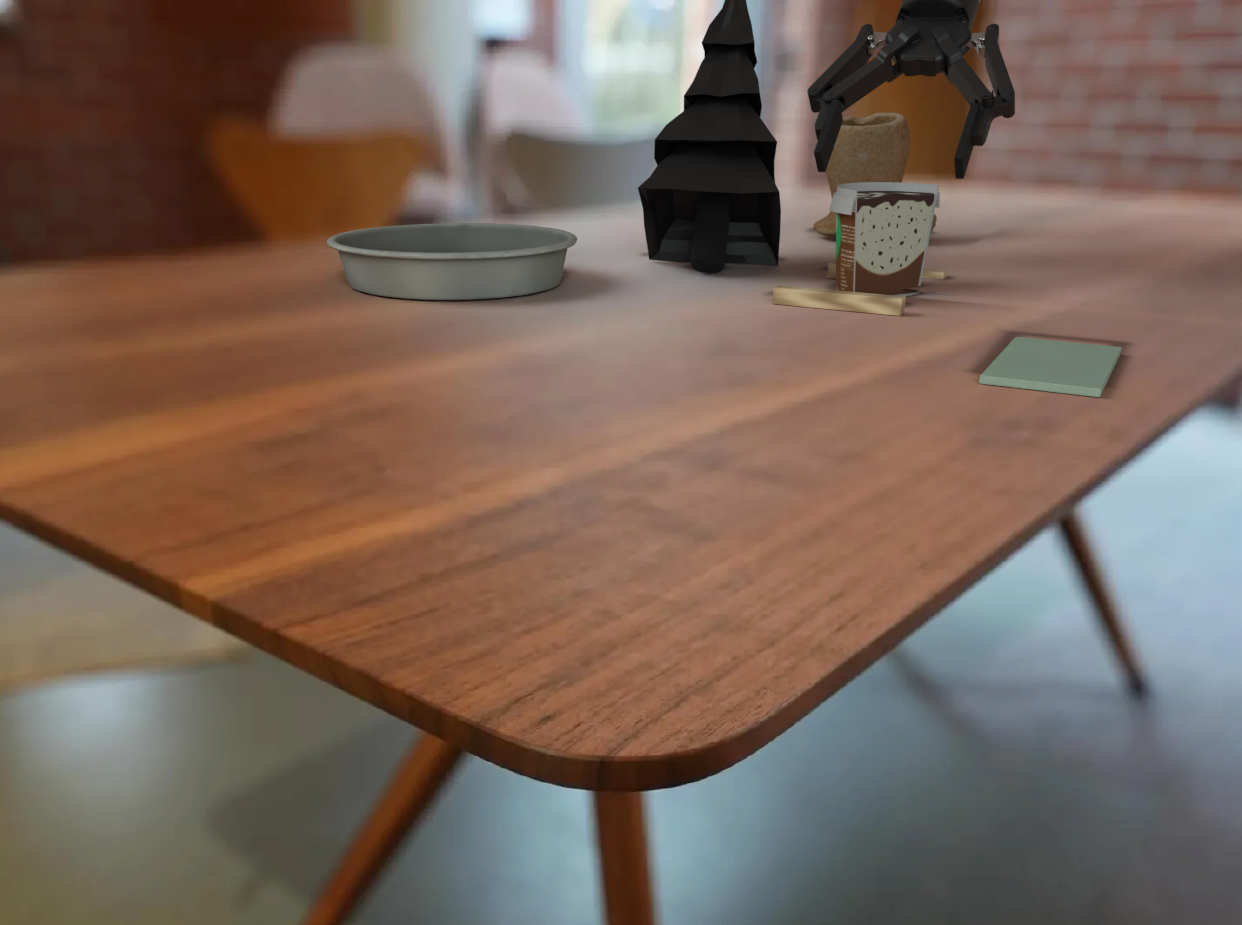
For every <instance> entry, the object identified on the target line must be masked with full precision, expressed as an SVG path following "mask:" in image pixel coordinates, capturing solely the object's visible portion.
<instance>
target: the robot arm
mask: <svg viewBox="0 0 1242 925" xmlns="http://www.w3.org/2000/svg"><path fill="white" fill-rule="evenodd" d="M980 3H981V0H901V4H900V7H899V9H898V12H897V15H896V19H895V23H894V25H893V26H892V27H891V28H890V29H889V30H888V31H887V32H884V31H874V26H873V25H872V24H871V23H865V24H863V25H861V27H860V29H859V32H858V33H857V36H856V38H855V39H854V41H853V42H852V43H851V44H850V45H849V46H848V47H847V48H846V49H845V50H844V51H843V52H842V53H841V54H840V55H839V56H838V57H837V58H836V59H835V60H834V61H833V62H832V63H831V64H830V66H829V67H828V68H826V69H825V71H824V72H823V73H822V74H821V75H819V77H818V78H816V80H815V81H814V82H813V83H812V84H811V85H810V86H809V87H808V88H807V91H806V92H807V97H808V101H809V106H810V111H811V112H812V113H815V114H816V113H817V117H816V119H815V123H814V131H815V135H816V140H817V142H816V145H815V148H814V151H813V156H814V161H815V164H816V165H815V166H816V169H817V172H818V173H826V169H827V166H828V163H829V160H830V157H831V154H832V151H833V148H834V145H835V142H836V140H837V137H838V134H839V131H840V128H841V125H842V122H843V118H844V117H843V112H845V111H846V110H847V109H849V108H850V107H852V106H854V105H855V104H856V103H857V102H859V101H860V100H861V99H863V98H864V97H867V95H869V94H870V93H871V92H873V91H875V90H876V89H877V88H879V87H880V86H882V85H884V84H885V83H886V82H887V83H893V81H895V80H896V79H897V78H899V77H900V76H902V75H903V74H904V77H916V76H925V77H930V78H932V77H934V78H936V77H937V75H939V74H941V73H942V74H943V76H944V77H945V78H946V79H947V81H948V82H949V84H953V85H954V87H955V88H956V89H957V90H958V92H959V93H960V94H961V96H962V97H963V99H964V100H965V101H966V102H967V103H968V105H969V108H968V112H967V115H966V119H965V121H964V126H963V128H962V131H961V134H960V138H959V141H958V144H957V148H956V152H955V154H954V157H953V162H954V176H955V179H958V180H964V179H965V176H966V172H967V169H968V167H969V166H968V165H969V163H970V158H971V156H972V152H973V150H974V147H983V146H984V145H985V144H986V142H987V139H988V135H989V133H990V130H991V126H992V122H994V120H995V119H996V118H999V117H1003V118H1005V119H1010V118H1013V117H1014V116H1015V114H1016V91H1015V88H1014V85H1013V82H1012V80H1011V77H1010V74H1009V70H1008V69H1007V65H1006V63H1005V59H1004V57H1003V54H1002V52H1001V49H1000V25H999V24H997V23H990V24H989V25H988V26H986V28H985V31H979V32H972V30H973V26H974V24H975V20H976V17H977V14H978V11H979V6H980ZM971 49H974V50H975V51H976V54H977V55H978V56H979V57H980V59H982V60H984V65H985V70H986V72H987V75H988V78H989V81H990V84H991V87H992V89H991V91H990V90H989V88H988V87H987V86H986V85H985V83H984V82H983V81H982V80H981V78H980V77H979V76H978V74H977V73H976V72H975V71H974V69H973V68H972V67H971V65H970V64H969V63H968V61H967V60H966V59H965V58H964V56H965V55H966V54H968V53H969V52H970V50H971ZM871 58H872V59H871ZM870 59H871V60H870Z"/></svg>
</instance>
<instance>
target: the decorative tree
mask: <svg viewBox="0 0 1242 925" xmlns="http://www.w3.org/2000/svg"><path fill="white" fill-rule="evenodd" d="M754 36H755V35H754V30H753V25H752V20H751V17H750V13H749V8H748V4H747V0H724V1H723V4H722V7H721V9H720V10H719V11H718V13H717V15H716V16H715V17H714V18H713V20H711V22H710V24H708V27H707V30H706V31H705V34H704V37H703V38H702V41H701V45H702V48H703V51H704V58H703V60H701V63H700V65H699V67H698V69H697V72H696V74H695V76H694V78H693V80H692V82H691V83H690V86H689V87H688V88H687V90H686V92H685V93H684V95H683V111H682V112H681V113H679V114H678V115H677V116H675V117H674V118H673V119H672V120H670V121H669V122H668V123H666V124H665V126H664V127H663V128H662V130H661V131H660V132H659V133H658V135H657V136H656V137H655V139H654V147H653V148H654V151H653V152H654V153H653V155H654V156H653V158H654V161H655V163H656V167H655V168H654V170H653V171H652V173H651V174H650V175H649V177H648V178H646V179H645V180H644V181H643V182H642V183H641V184H640V185H639V186H638V187H637V191H638V194H639V199H640V203H641V207H642V216H643V228H644V233H645V240H646V245H647V246H646V248H647V254H648V255H647V256H648V260H650V261H660V262H669V263H679V264H690V267H691V268H692V270H694V271H696V272H698V273H703V274H717V273H719V272H722V271H723V270H724V269H725V266H726V264H736V265H738V264H739V265H740V264H741V265H756V266H770V267H779V259H780V258H779V256H780V254H779V253H780V242H781V224H782V223H781V220H782V206H781V195H780V190H779V188H778V186H777V184H776V177H775V158H776V153H777V147H778V146H777V145H778V141H777V139H776V138H775V136H774V135H773V134H772V133H771V131H770V129H768V127H767V125H766V124H765V122H764V121H763V120H762V118H761V116H762V115H761V114H762V107H763V104H762V98H761V91H760V83H759V82H760V81H759V78H758V75H757V72H756V70H755V68H756V66H757V64H758V59H757V54H756V50H755V37H754Z"/></svg>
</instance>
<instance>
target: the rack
mask: <svg viewBox="0 0 1242 925" xmlns="http://www.w3.org/2000/svg"><path fill="white" fill-rule="evenodd" d="M947 273H948V271H947V270H945V269H933V268H924V270H923V275H922V279H932V280H933V279H934V280H935V279H936V280H944V279H946V278H947ZM826 279H833V280H836V261H831V262H828V263H827V273H826ZM906 300H907V296H895V295H883V294H872V293H861V292H849V291H838V290H835V289H826V288H813V287H801V286H791V285H780V284H779V285H777V286H774V287H773V290H772V305H779V306H780V305H781V306H789V307H800V308H809V309H811V308H813V309H821V310H833V311H842V312H853V313H863V314H874V315H875V314H876V315H885V316H897V317H901V316H903V315H904V314H905V309H906Z"/></svg>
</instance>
